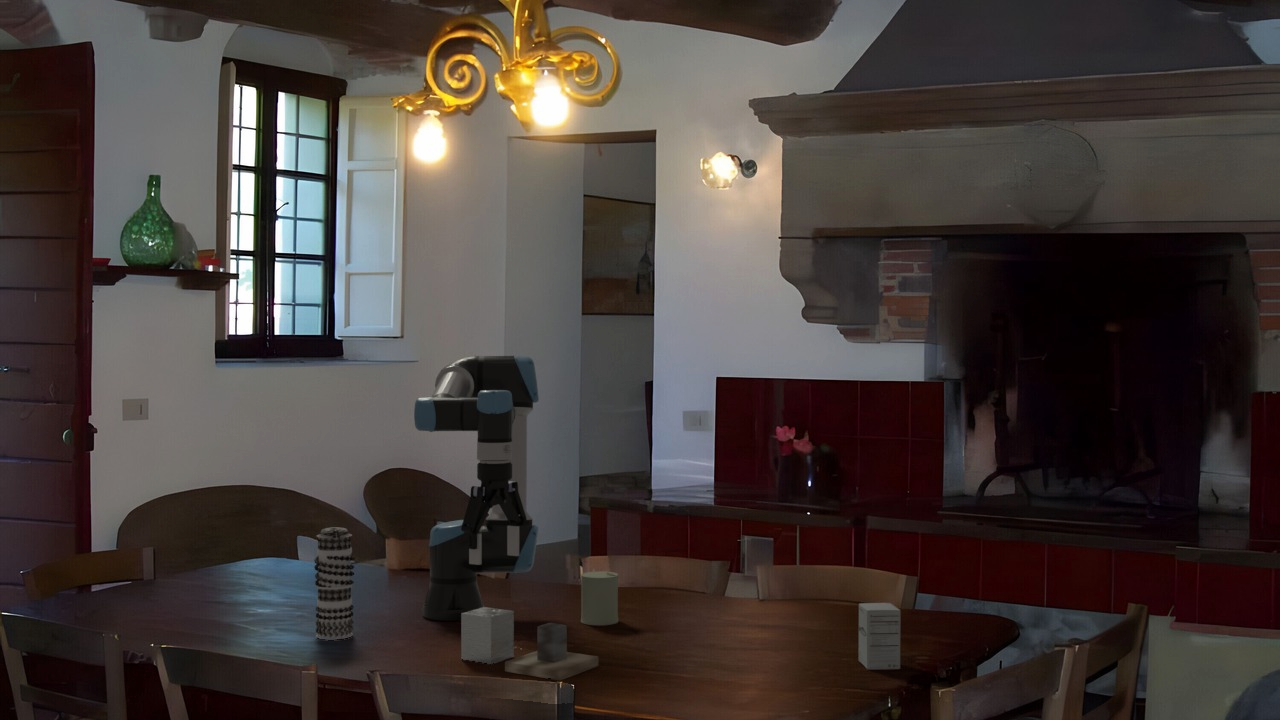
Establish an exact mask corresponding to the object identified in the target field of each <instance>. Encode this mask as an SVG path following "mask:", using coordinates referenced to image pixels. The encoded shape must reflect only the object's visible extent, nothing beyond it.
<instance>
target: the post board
mask: <svg viewBox="0 0 1280 720" xmlns="http://www.w3.org/2000/svg"><path fill="white" fill-rule="evenodd" d="M536 631H537V632H536V633H537V636H536V638H537V640H536V641H537V644H536V645H537V646H536V647H537V649H536V651H532V652H530V653H527V654H524V655H521V656H518V657H515V658H512V659H508V660H505V661H504V672H505V673H506V672H507V673H512V674H519V675H525V676H531V677H537V678H541V679H542V678H543V679H548V678H551V679H550V680H554V681H559V682H560V681H563V680H566V679H569V678H570V677H574V676H576V675H579V674H581V673H584V672H586V671H589V670H591V669H594V668H597V667H599V656H598V655H589V654H583V653H577V652H570V651H568V648H567V647H568V625H566V624H561V623H554V622H548V623H544V624H541V625H538V626H537V630H536Z"/></svg>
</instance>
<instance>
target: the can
mask: <svg viewBox="0 0 1280 720" xmlns="http://www.w3.org/2000/svg"><path fill="white" fill-rule="evenodd" d="M580 577H581V578H580V580H581V582H580V583H581V584H580V585H581V592H580V593H581V600H580V601H581V602H580V603H581V606H580V607H581V609H580V610H581V611H580V612H581V615H580V616H581V617H580V618H581V619H580V622H581V624H584V625H588V626H611V625H615V624H618V623H619V610H618V609H619V605H618V603H619V597H618V596H619V592H618V591H619V590H618V588H619V574H618V573H617V572H613V571H603V570H602V571H601V570H600V571H597V570H596V571H586V572H583V573H581V574H580Z"/></svg>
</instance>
